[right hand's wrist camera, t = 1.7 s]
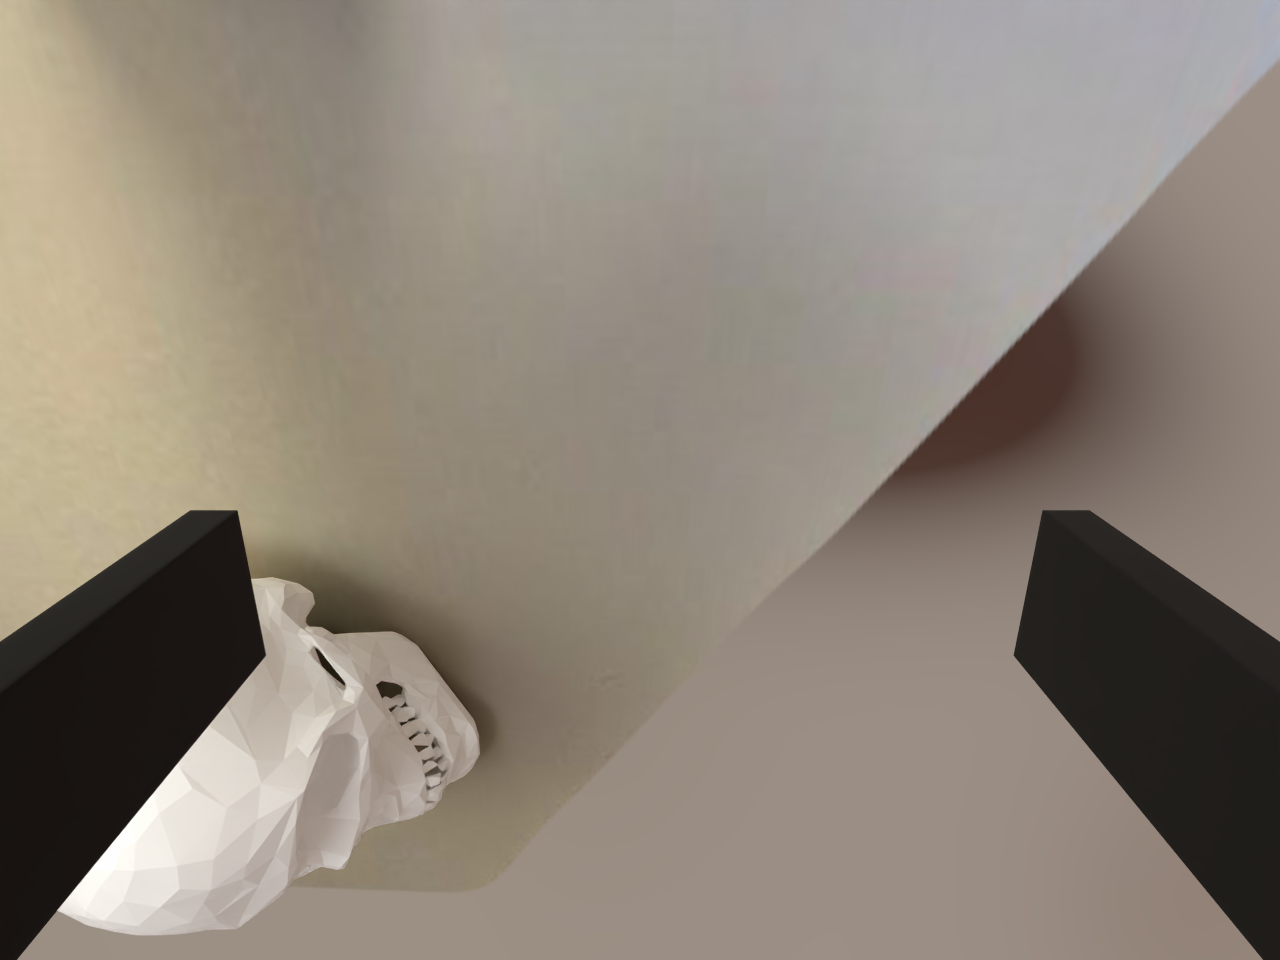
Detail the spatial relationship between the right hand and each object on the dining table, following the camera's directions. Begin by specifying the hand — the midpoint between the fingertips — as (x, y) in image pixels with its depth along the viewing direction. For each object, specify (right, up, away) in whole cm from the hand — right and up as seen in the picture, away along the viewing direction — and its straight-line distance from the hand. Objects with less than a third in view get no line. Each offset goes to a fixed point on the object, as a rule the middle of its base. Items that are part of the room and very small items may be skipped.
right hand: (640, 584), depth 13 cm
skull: (-19, -9, +31) cm, 38 cm away
